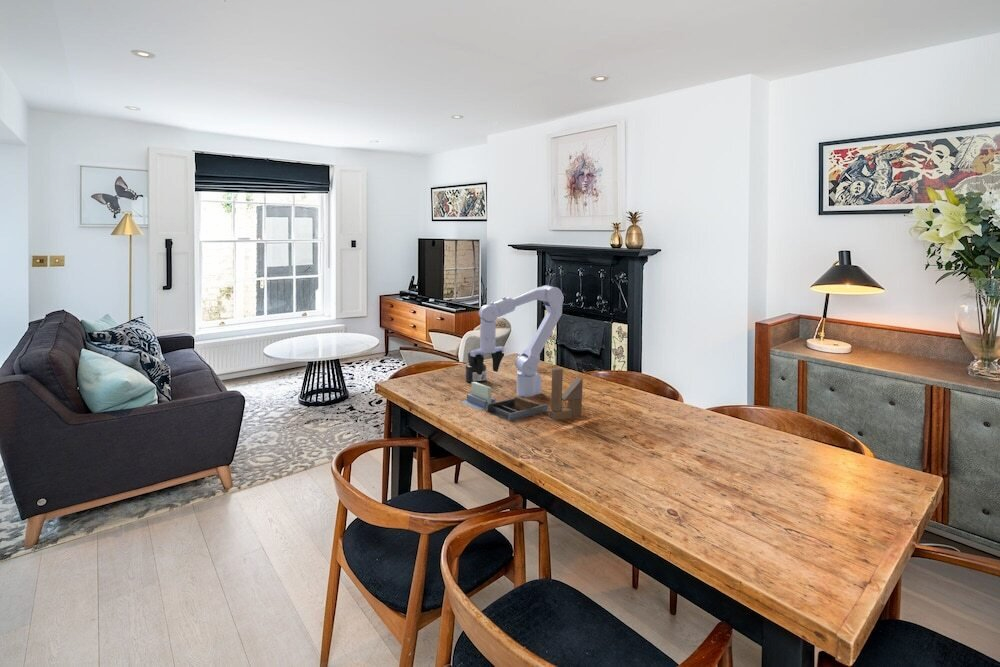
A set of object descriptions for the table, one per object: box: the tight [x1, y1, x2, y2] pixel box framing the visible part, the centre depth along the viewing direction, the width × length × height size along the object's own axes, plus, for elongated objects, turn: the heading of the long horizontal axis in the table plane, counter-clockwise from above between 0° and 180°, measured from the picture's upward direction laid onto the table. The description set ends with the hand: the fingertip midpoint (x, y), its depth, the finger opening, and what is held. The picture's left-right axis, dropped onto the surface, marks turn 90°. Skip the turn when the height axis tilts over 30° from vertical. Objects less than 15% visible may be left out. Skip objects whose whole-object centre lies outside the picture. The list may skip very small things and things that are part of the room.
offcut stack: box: [514, 396, 540, 410], centre depth 187 cm, size 4×8×4 cm, turn 39°
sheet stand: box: [459, 393, 496, 411], centre depth 194 cm, size 10×12×4 cm
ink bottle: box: [465, 351, 487, 384], centre depth 227 cm, size 10×9×12 cm
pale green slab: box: [470, 382, 492, 404], centre depth 193 cm, size 2×10×7 cm, turn 38°
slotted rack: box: [485, 396, 549, 423], centre depth 185 cm, size 17×13×4 cm
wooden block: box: [548, 367, 584, 421], centre depth 179 cm, size 4×11×18 cm, turn 112°
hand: (487, 372), depth 200 cm, fingers open, 7 cm apart
